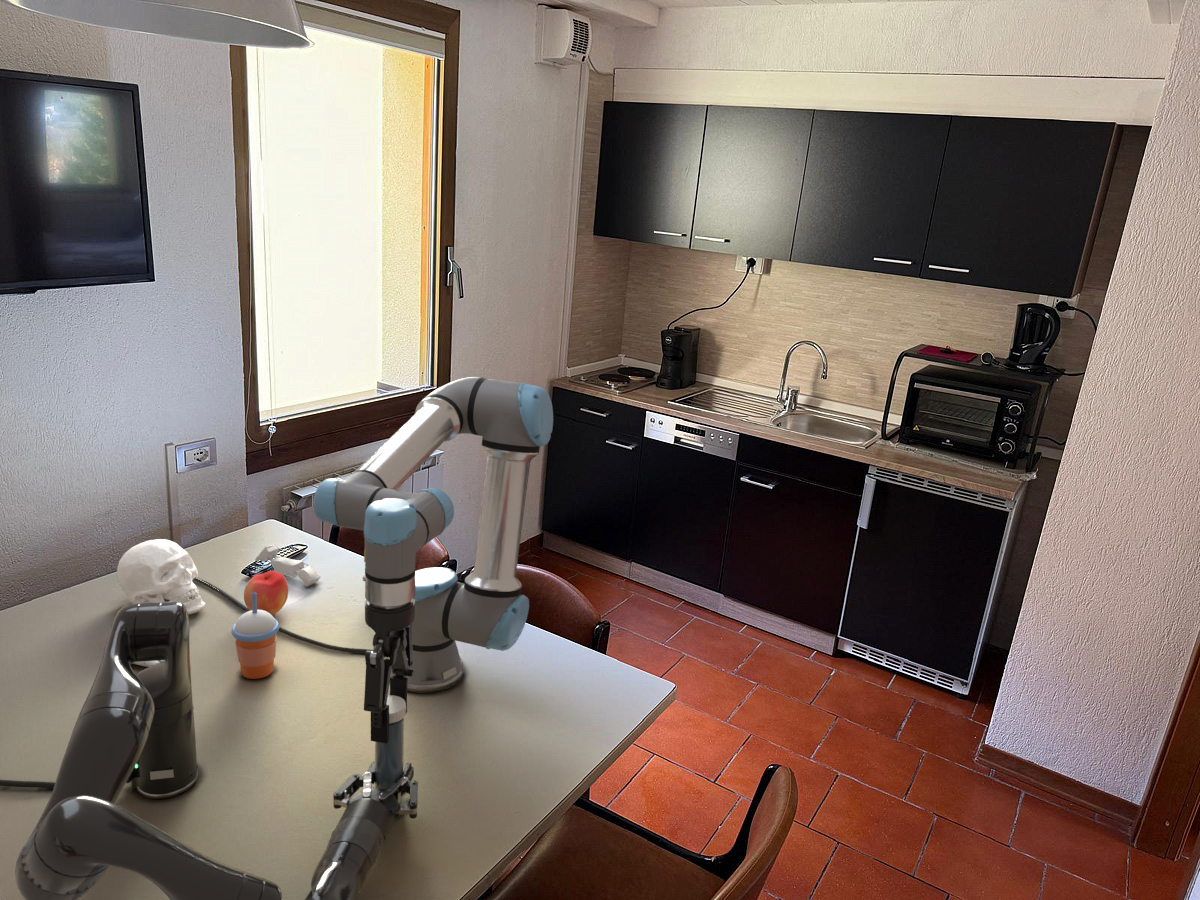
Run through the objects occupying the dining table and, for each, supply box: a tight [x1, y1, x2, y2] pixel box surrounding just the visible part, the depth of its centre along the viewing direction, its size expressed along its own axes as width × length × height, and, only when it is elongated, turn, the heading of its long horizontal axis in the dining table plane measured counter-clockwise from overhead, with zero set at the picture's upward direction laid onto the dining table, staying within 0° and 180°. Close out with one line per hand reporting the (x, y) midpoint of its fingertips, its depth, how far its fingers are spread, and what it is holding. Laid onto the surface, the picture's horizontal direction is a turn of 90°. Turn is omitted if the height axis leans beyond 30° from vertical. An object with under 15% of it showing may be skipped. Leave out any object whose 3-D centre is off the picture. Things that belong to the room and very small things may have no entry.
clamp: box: [254, 544, 322, 587], centre depth 219 cm, size 20×4×7 cm, turn 62°
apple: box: [243, 570, 289, 617], centre depth 199 cm, size 10×10×10 cm
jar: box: [374, 717, 405, 806], centre depth 140 cm, size 4×4×20 cm
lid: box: [386, 694, 407, 723], centre depth 137 cm, size 5×5×2 cm
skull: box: [116, 538, 206, 615], centre depth 199 cm, size 13×22×16 cm, turn 73°
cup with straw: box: [231, 592, 280, 680], centre depth 176 cm, size 9×9×18 cm
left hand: (394, 765), depth 144 cm, fingers closed on jar, 4 cm apart
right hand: (389, 725), depth 138 cm, fingers open, 7 cm apart
